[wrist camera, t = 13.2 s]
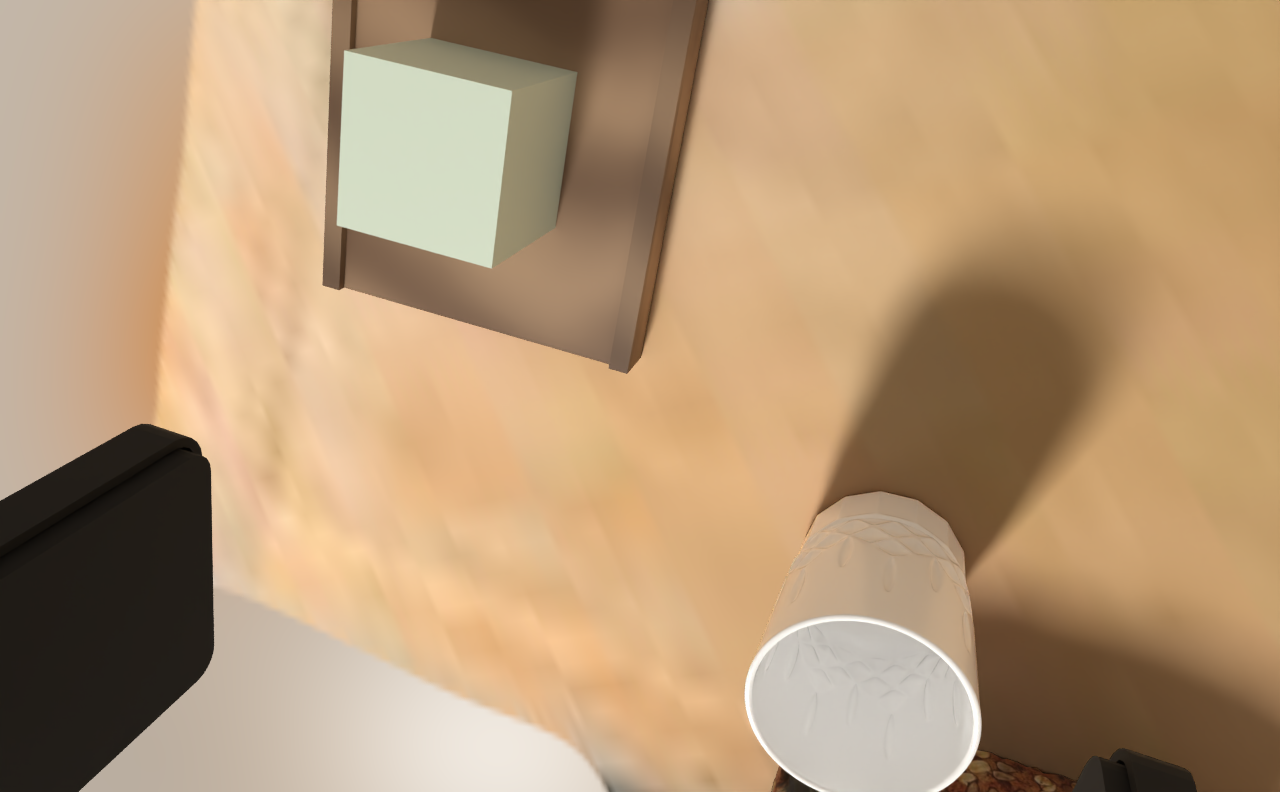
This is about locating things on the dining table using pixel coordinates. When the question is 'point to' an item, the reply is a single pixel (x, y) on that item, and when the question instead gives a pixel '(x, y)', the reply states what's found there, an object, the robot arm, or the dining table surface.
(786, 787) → the bread
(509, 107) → the sage block
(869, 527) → the white cup
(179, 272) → the dining table surface
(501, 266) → the board
